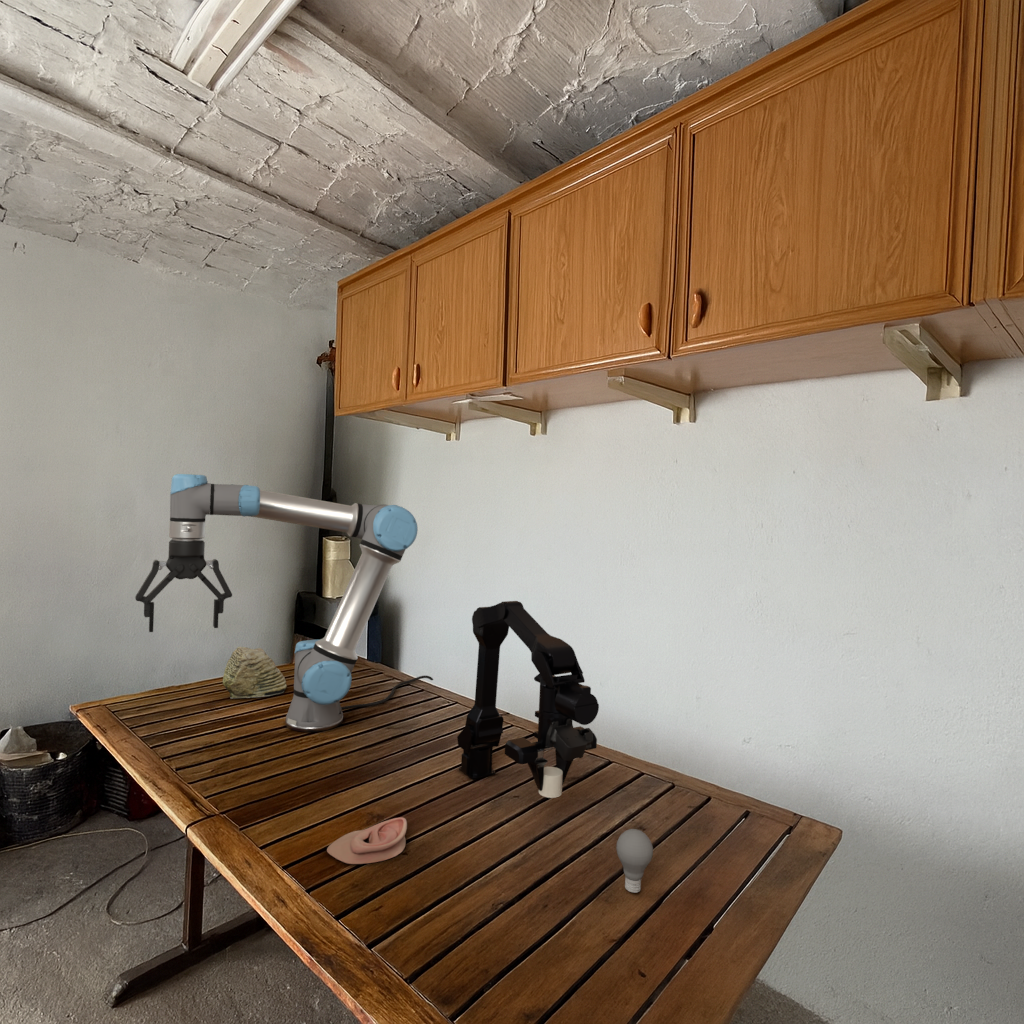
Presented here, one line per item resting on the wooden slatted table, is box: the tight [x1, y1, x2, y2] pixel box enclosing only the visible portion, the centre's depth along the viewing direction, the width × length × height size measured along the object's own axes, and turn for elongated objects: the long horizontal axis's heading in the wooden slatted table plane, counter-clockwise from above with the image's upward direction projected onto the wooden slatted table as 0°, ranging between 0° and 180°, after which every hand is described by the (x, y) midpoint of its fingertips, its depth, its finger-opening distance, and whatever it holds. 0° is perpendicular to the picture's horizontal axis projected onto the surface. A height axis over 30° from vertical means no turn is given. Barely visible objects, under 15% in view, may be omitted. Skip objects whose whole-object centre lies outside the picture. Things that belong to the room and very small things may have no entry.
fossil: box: [222, 646, 288, 699], centre depth 198 cm, size 9×18×15 cm, turn 132°
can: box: [538, 766, 563, 799], centre depth 125 cm, size 5×5×4 cm
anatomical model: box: [326, 816, 408, 865], centre depth 115 cm, size 13×4×12 cm
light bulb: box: [615, 828, 654, 894], centre depth 106 cm, size 6×6×10 cm
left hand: (184, 629), depth 150 cm, fingers open, 13 cm apart
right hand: (550, 787), depth 125 cm, fingers closed on can, 4 cm apart
